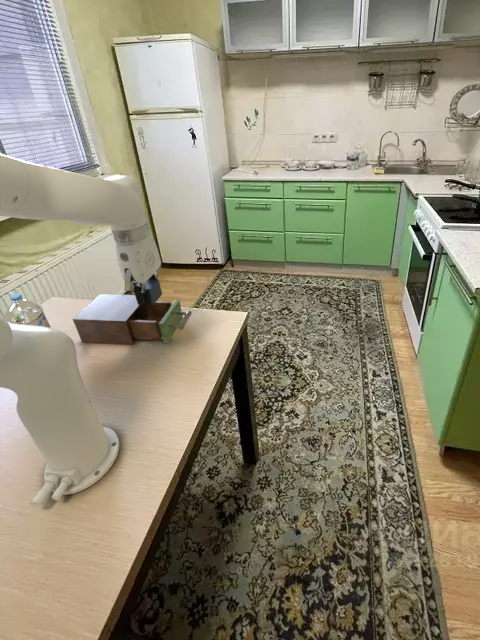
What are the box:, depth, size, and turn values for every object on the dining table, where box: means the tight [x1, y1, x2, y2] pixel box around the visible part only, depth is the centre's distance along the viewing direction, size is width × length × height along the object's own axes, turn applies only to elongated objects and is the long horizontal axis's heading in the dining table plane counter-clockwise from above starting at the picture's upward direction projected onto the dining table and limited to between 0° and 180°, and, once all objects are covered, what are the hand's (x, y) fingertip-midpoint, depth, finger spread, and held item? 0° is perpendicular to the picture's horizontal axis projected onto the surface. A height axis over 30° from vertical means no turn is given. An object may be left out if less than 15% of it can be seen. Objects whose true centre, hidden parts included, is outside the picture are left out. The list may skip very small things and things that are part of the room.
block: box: [136, 279, 163, 304], centre depth 81 cm, size 4×4×4 cm
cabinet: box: [72, 293, 141, 346], centre depth 96 cm, size 16×13×9 cm
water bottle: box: [4, 293, 52, 328], centre depth 76 cm, size 7×7×25 cm
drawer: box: [128, 299, 193, 344], centre depth 95 cm, size 19×11×7 cm, turn 85°
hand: (149, 297), depth 82 cm, fingers closed on block, 4 cm apart
